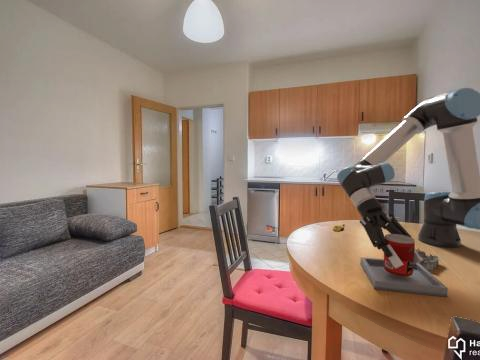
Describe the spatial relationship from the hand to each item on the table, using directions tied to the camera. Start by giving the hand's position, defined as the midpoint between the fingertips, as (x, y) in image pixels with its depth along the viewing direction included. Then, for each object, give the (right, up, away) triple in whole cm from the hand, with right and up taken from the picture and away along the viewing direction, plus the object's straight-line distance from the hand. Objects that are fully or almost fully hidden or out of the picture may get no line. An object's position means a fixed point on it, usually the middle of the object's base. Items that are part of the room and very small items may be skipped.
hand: (409, 264), depth 74 cm
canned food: (-1, -4, +3) cm, 5 cm away
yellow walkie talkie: (+5, -2, +62) cm, 62 cm away
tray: (-1, -6, +4) cm, 7 cm away
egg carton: (+15, -5, +14) cm, 21 cm away
